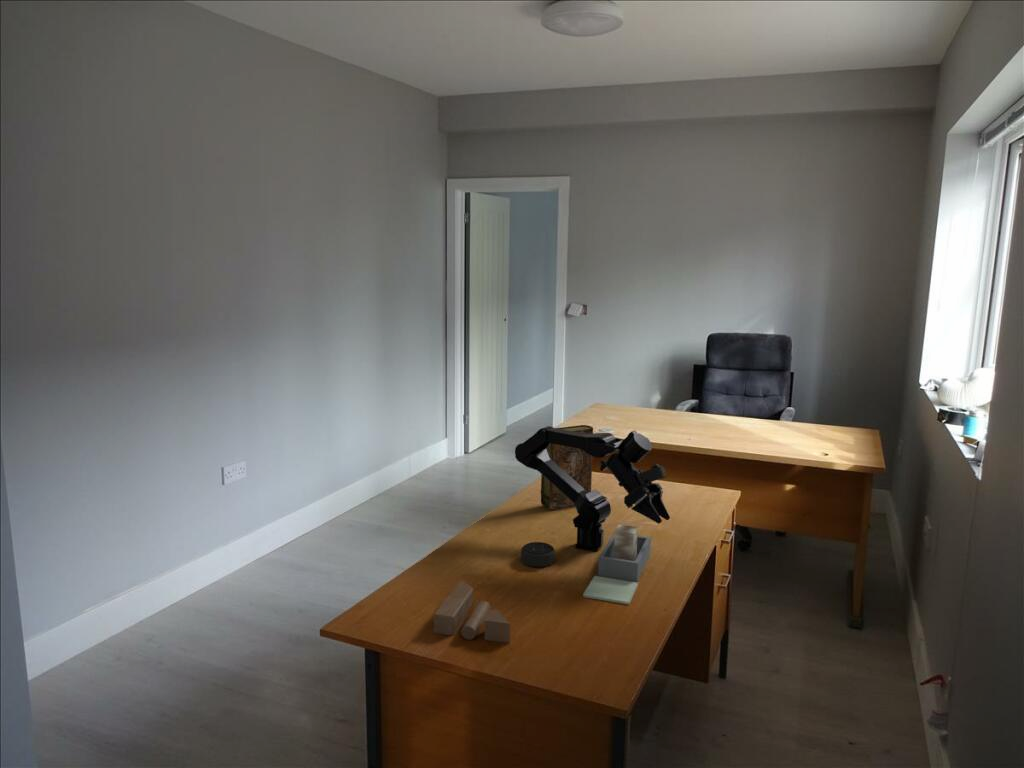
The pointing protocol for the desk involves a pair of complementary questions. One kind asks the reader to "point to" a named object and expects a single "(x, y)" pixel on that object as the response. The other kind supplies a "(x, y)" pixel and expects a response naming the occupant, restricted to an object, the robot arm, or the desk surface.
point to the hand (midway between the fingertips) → (664, 520)
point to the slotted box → (624, 561)
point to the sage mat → (611, 590)
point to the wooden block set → (455, 613)
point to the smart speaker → (537, 554)
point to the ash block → (625, 542)
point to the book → (567, 470)
